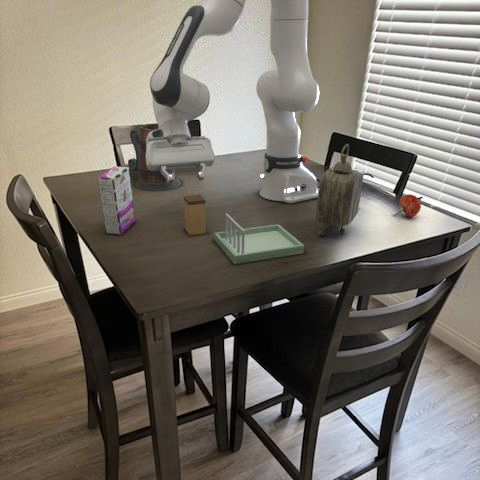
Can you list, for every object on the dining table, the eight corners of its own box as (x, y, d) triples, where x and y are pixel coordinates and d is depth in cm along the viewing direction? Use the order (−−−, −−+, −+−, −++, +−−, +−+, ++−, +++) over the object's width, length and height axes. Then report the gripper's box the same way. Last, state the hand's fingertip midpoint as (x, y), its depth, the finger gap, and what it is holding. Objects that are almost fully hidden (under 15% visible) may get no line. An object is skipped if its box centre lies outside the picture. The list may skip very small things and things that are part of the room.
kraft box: (200, 227, 143) (200, 194, 138) (206, 233, 139) (205, 199, 134) (185, 229, 141) (183, 196, 136) (189, 235, 138) (188, 201, 132)
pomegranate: (400, 227, 152) (430, 210, 149) (389, 207, 150) (419, 190, 147) (397, 221, 159) (426, 204, 155) (387, 202, 157) (415, 185, 153)
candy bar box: (120, 219, 147) (113, 165, 138) (135, 221, 146) (130, 166, 137) (104, 233, 137) (96, 176, 129) (121, 235, 137) (113, 178, 128)
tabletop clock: (327, 221, 149) (338, 137, 136) (356, 226, 146) (370, 141, 132) (313, 237, 138) (323, 148, 125) (343, 243, 135) (357, 152, 121)
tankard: (190, 182, 179) (188, 126, 168) (157, 193, 168) (152, 133, 157) (147, 170, 191) (143, 117, 180) (114, 180, 180) (107, 123, 169)
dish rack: (277, 231, 142) (279, 204, 137) (303, 253, 129) (306, 224, 125) (214, 240, 135) (213, 212, 131) (234, 264, 123) (235, 234, 118)
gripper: (206, 141, 148) (217, 182, 145) (140, 146, 141) (150, 188, 139) (211, 129, 142) (222, 171, 139) (142, 133, 135) (153, 177, 133)
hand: (186, 180), depth 139 cm, fingers open, 8 cm apart
